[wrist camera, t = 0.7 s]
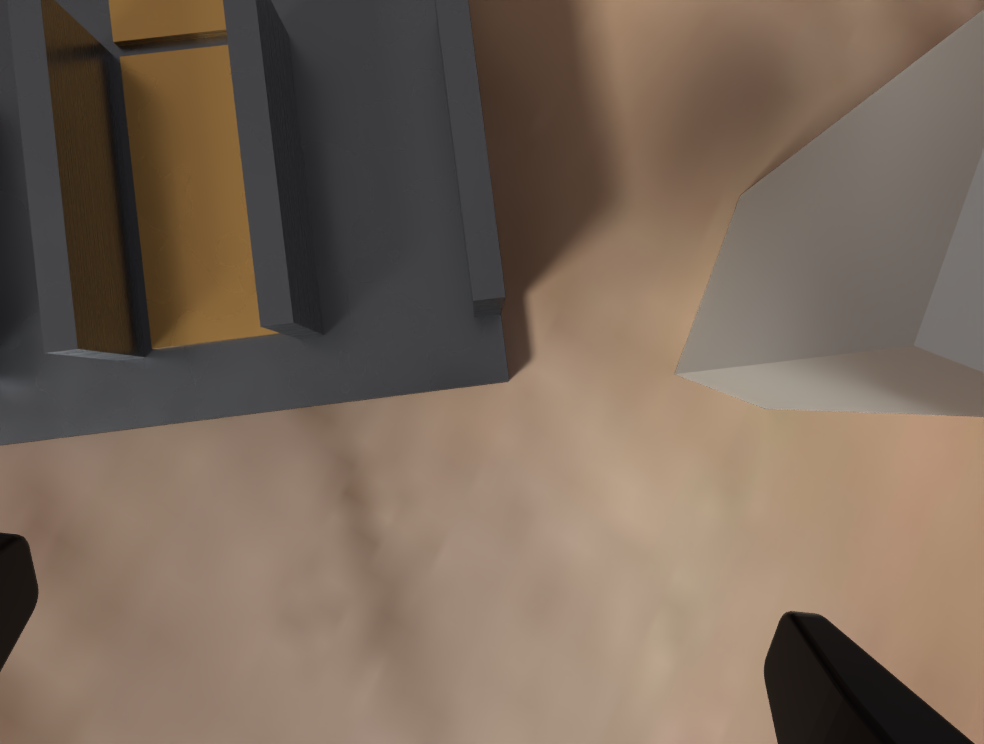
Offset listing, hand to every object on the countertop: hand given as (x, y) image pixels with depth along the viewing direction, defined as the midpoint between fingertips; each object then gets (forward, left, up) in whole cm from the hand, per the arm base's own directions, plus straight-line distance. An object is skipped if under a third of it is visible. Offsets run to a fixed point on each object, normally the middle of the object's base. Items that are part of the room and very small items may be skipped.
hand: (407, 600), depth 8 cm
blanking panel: (+2, -11, -13) cm, 17 cm away
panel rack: (+10, +4, -13) cm, 17 cm away
